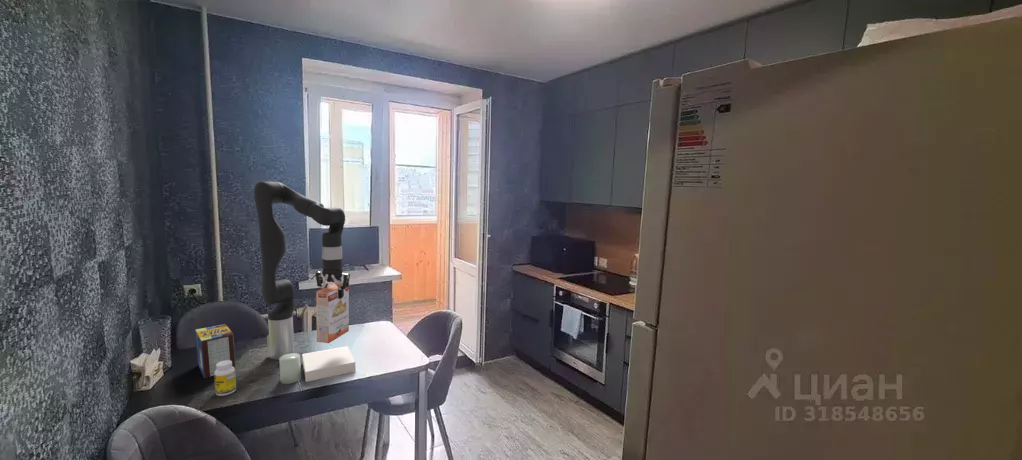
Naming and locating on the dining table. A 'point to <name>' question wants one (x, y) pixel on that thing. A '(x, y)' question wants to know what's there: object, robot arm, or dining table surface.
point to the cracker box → (331, 314)
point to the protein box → (214, 348)
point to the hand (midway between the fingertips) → (333, 297)
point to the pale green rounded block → (290, 368)
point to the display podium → (328, 363)
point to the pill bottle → (224, 378)
